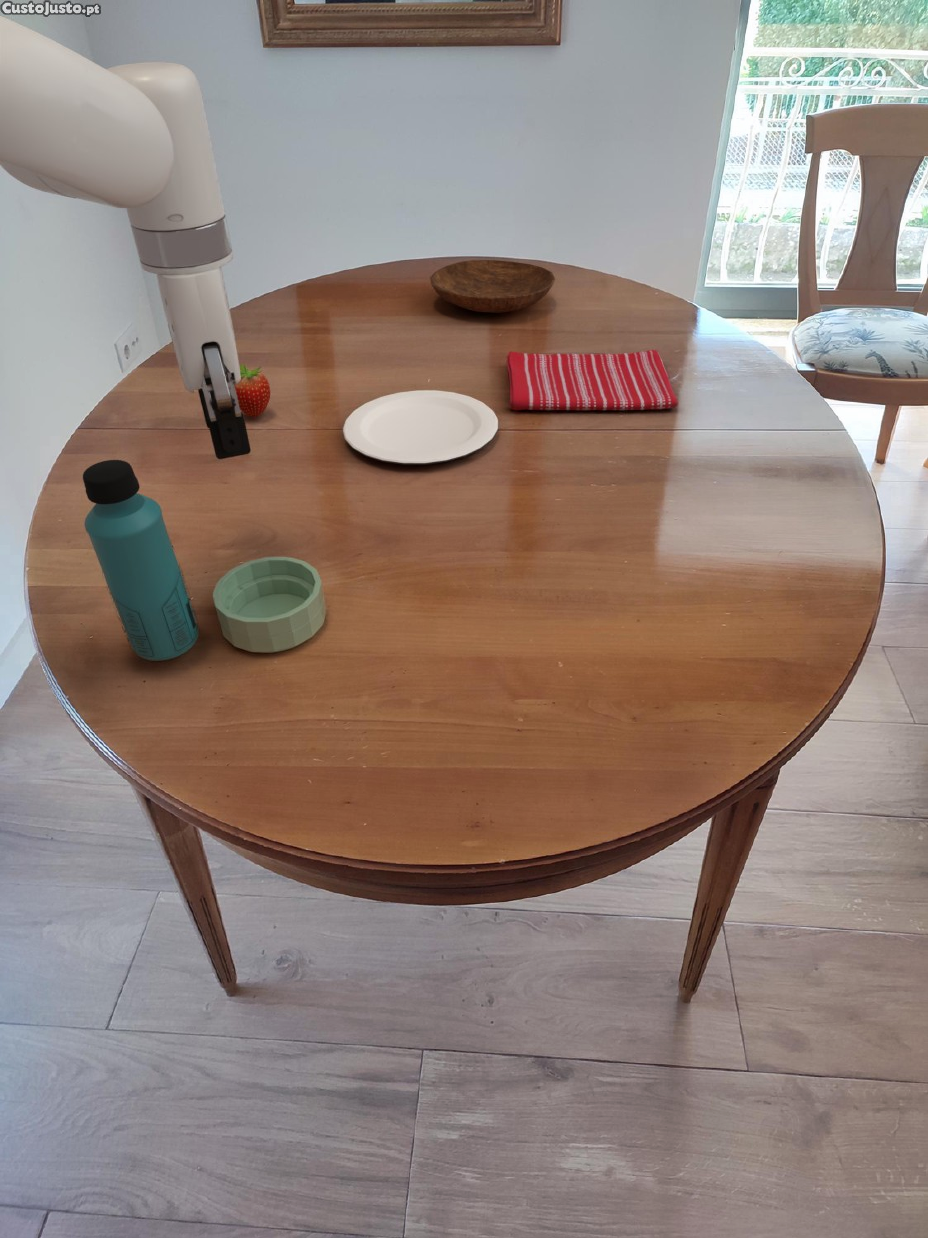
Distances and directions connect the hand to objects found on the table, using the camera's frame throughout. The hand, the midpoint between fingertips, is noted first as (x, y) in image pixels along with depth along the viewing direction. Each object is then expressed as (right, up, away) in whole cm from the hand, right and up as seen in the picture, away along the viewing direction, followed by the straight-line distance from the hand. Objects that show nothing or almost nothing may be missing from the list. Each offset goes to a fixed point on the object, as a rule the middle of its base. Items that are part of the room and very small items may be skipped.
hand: (228, 437), depth 81 cm
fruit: (-7, +11, +38) cm, 40 cm away
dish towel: (+41, +16, +42) cm, 61 cm away
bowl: (+28, +38, +69) cm, 84 cm away
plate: (+17, +7, +33) cm, 38 cm away
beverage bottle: (-6, -21, 0) cm, 21 cm away
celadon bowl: (+4, -18, +3) cm, 18 cm away
